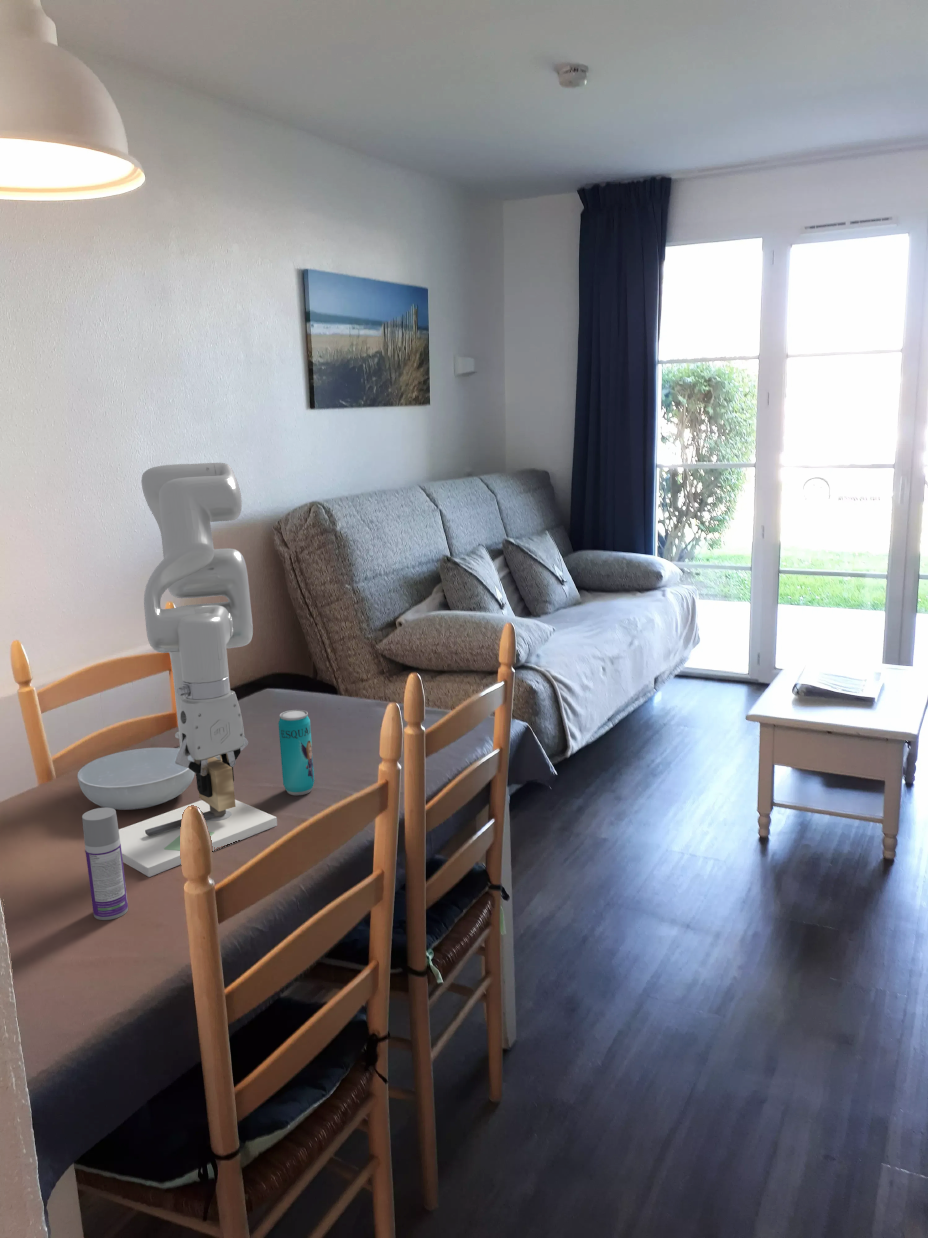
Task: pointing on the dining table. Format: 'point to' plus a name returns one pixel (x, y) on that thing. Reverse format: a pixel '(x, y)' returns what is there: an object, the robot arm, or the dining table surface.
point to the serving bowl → (135, 778)
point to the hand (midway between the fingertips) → (216, 790)
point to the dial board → (165, 846)
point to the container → (105, 863)
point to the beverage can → (296, 752)
